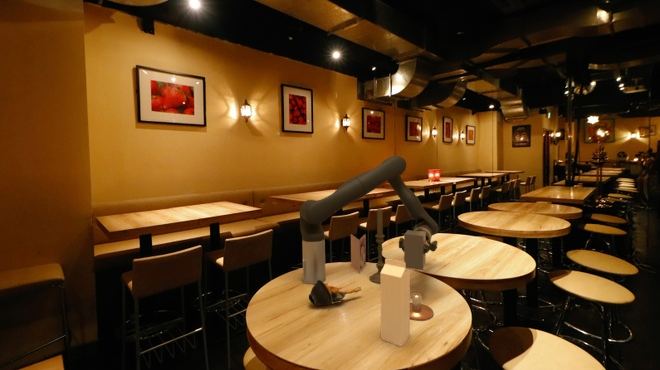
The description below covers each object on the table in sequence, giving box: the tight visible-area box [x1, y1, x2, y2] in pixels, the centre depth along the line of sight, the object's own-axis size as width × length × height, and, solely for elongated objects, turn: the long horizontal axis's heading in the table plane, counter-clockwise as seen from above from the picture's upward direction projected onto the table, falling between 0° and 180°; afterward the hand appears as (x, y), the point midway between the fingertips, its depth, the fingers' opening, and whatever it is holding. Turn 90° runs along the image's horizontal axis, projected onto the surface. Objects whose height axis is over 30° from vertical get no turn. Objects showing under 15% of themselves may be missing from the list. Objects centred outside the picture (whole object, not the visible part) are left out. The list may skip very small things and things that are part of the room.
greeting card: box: [350, 233, 367, 274], centre depth 136 cm, size 11×7×15 cm, turn 160°
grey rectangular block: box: [403, 229, 427, 271], centre depth 106 cm, size 6×6×12 cm
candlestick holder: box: [368, 208, 385, 285], centre depth 122 cm, size 9×9×30 cm
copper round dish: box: [410, 292, 434, 322], centre depth 96 cm, size 10×10×6 cm
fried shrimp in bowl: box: [308, 280, 362, 307], centre depth 105 cm, size 9×11×18 cm
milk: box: [380, 258, 411, 347], centre depth 82 cm, size 6×6×22 cm
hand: (414, 249), depth 104 cm, fingers closed on grey rectangular block, 6 cm apart
